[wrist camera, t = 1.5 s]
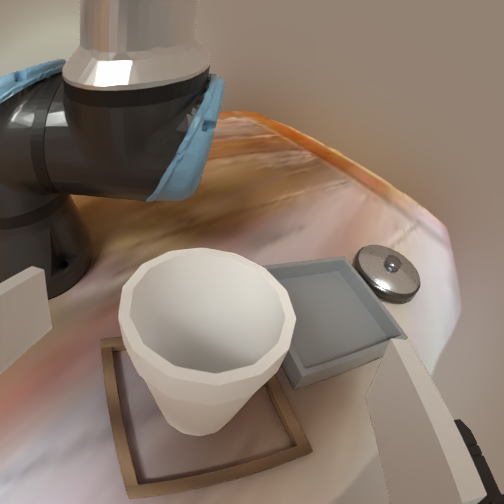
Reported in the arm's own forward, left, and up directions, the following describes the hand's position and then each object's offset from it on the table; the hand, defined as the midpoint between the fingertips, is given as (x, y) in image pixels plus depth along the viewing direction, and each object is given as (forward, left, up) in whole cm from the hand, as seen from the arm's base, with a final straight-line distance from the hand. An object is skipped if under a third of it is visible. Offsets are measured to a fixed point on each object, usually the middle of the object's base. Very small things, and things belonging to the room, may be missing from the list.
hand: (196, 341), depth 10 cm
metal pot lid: (-14, +32, -16) cm, 39 cm away
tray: (-10, +18, -16) cm, 26 cm away
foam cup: (-4, +2, -17) cm, 17 cm away
